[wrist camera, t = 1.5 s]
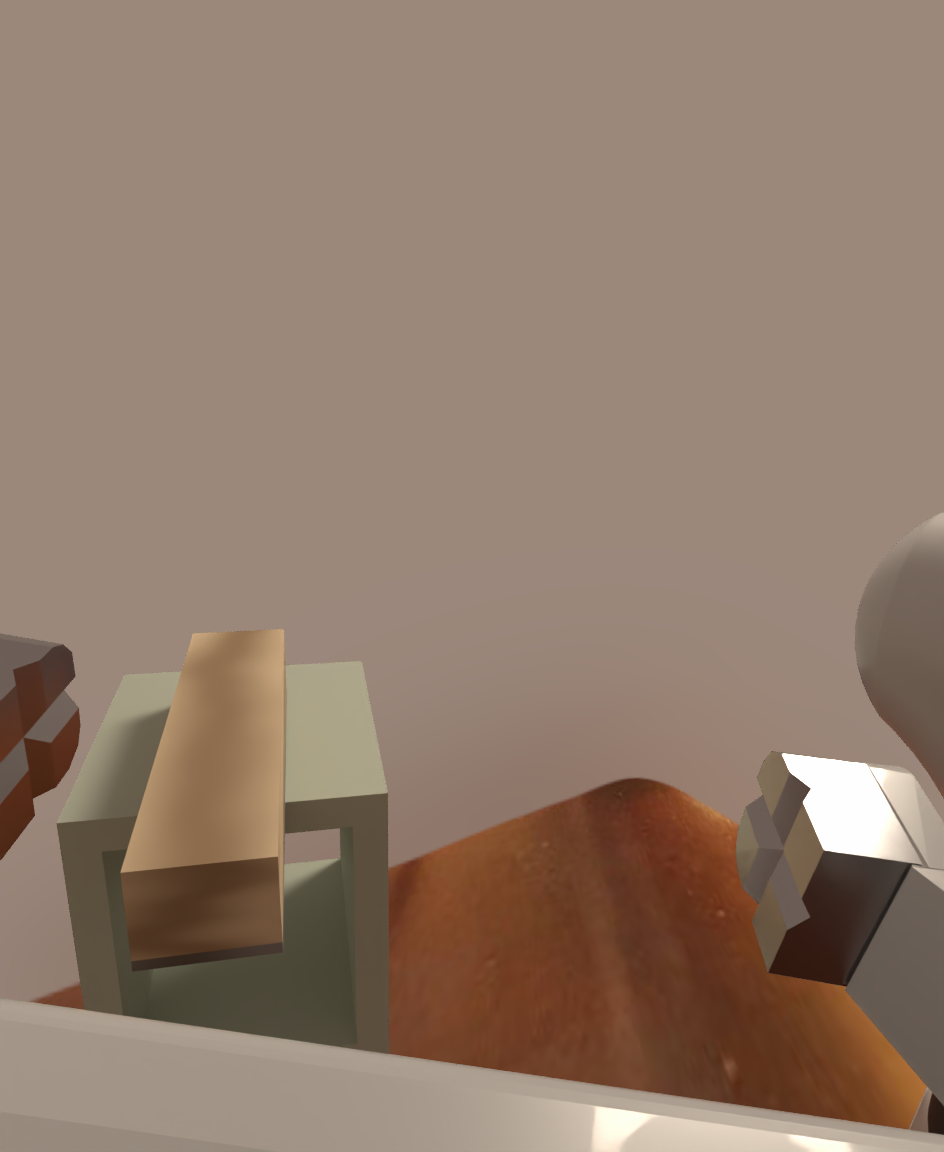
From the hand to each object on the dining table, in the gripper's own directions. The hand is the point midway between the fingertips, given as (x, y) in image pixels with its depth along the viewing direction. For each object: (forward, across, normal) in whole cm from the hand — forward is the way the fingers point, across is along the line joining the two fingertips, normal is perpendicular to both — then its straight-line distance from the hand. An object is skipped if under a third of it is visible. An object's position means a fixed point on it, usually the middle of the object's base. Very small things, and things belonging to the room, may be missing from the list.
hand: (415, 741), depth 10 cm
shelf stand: (+20, +6, +46) cm, 50 cm away
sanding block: (+18, +8, +19) cm, 28 cm away
